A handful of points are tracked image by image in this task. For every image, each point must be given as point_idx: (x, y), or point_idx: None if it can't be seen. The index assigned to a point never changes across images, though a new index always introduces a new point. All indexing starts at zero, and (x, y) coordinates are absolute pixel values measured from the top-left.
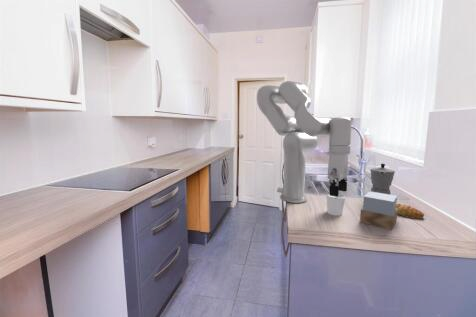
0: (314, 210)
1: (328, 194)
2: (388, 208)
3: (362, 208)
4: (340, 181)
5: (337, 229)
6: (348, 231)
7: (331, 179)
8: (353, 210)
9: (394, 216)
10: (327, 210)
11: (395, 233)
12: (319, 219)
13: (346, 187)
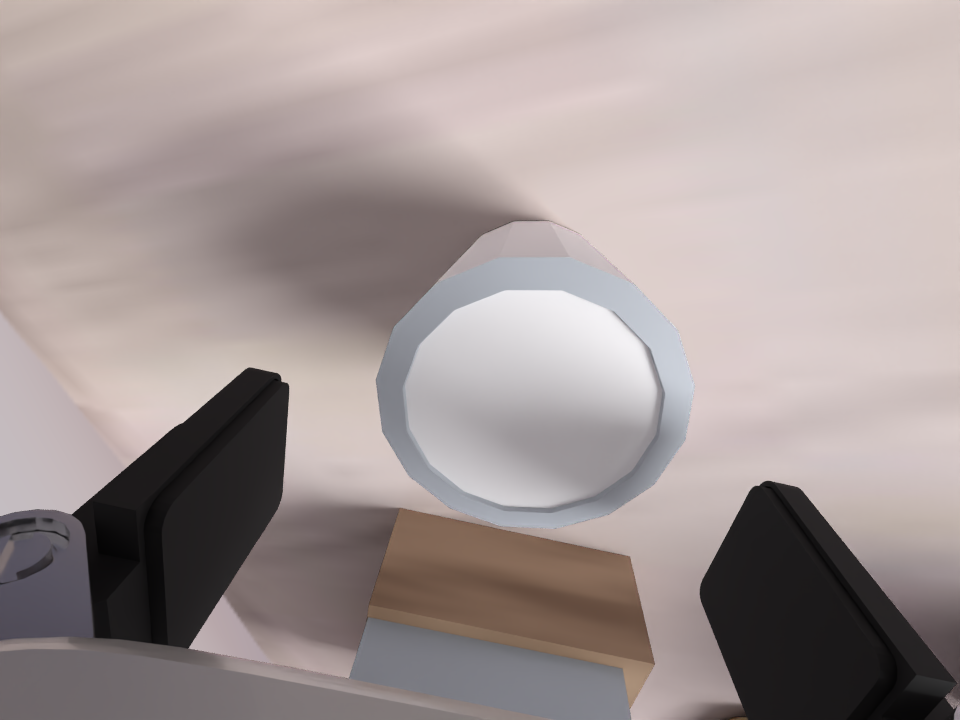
0: (495, 40)
1: (594, 283)
2: None
3: (415, 617)
4: (864, 707)
5: (112, 365)
6: (142, 439)
7: None
8: (704, 468)
9: None
10: (496, 231)
11: (327, 661)
12: (218, 176)
13: (733, 666)
